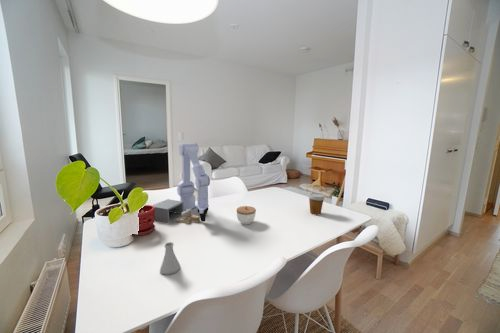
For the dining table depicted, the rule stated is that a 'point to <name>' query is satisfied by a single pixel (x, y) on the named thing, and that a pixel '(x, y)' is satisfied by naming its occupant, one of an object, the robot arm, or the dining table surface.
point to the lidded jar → (246, 214)
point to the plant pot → (146, 219)
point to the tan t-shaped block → (188, 217)
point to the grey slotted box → (167, 209)
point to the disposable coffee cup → (316, 203)
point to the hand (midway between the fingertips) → (203, 221)
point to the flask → (169, 261)
